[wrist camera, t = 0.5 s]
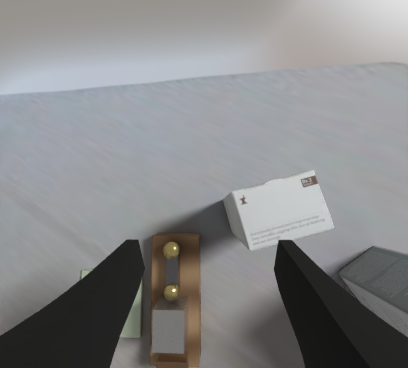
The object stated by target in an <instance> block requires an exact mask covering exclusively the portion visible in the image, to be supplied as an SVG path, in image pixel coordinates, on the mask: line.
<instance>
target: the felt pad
mask: <svg viewBox="0 0 408 368" xmlns="http://www.w3.org/2000/svg"><path fill="white" fill-rule="evenodd" d="M91 271H92V270H82V277H81V279H82V278H84V277H85V276H86V275H87V274H88V273H90V272H91ZM142 280H143V277H142ZM142 280H141V284H140V287H139V290H138V293H137V295H136V298H135V300H134V303H133V305H132V308H131V310H130V313H129V315H128V318H127V320H126V323H125V325H124V328H123V330H122V332H121V335H120V337H124V338H140V337H141V327H142Z"/></svg>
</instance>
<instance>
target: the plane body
mask: <svg viewBox="0 0 408 368" xmlns="http://www.w3.org/2000/svg"><path fill="white" fill-rule="evenodd" d="M172 241H173V242H176V243H180V290H179V293H178V295H177V296H188V299H189V333H188V337H187V342H186V347H185V351H184V354H179V353H153V352H152V320H153V308H154V307H155V305H156V303H157V302H158V300H159V298H160V297H161V295H164V290H165V289H166V257H165V255H164V253H163V248H164V246H165V245H166V244H167V243H168V242H172ZM200 355H201V297H200V233H157V234H155V235H153V236H152V288H151V348H150V365H156V368H188V367H199V364H200Z"/></svg>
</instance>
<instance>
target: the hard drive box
mask: <svg viewBox="0 0 408 368" xmlns="http://www.w3.org/2000/svg"><path fill="white" fill-rule="evenodd" d="M338 274H339V275H340V277H341V278H342V279H343V281H344V282H345V283H346V284H347V286H348V287H349V288H350V290H351V291H352V292H353V294H354V295H355V296H356V298H357V299H358V300H359V301H360V303H361V304H363V305H364V306H365V307H367V308H368V309H369V310H371V311H372V312H373V313H375V314H376V315H377V316H378V317H380V318H381V319H383V320H384V321H385V322H387V323H388V324H389V325H391V326H392V327H394V328H395V329H397V330H398V331H399V332H401V333H402V334H404V335H405V336H407V337H408V254H406V253H402V252H398V251H394V250H390V249H386V248H382V247H378V246H373V247H372V248H370V249H369V250H368V251H366V252H365V253H364V254H362V255H361V256H359V257H358V258H357V259H355V260H354V261H353V262H351V263H350V264H348V265H347V266H346V267H344V268H343V269H342V270H340V271H339V272H338Z"/></svg>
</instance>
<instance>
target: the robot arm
mask: <svg viewBox="0 0 408 368" xmlns="http://www.w3.org/2000/svg"><path fill="white" fill-rule="evenodd" d="M144 269H145V267H144V263H143V259H142V254H141V250H140V245H139V241H138V240H126V241H125V242H124V243H122V244H121V245H120V246H119V247H118V248H117V249H116V250H115V251H114V252H112V253H111V254H110V255H109V256H108V257H107V258H106V259H105V260H103V261H102V262H101V263H100V264H99V265H98V266H97V267H95V268H94V269H93V270H92V271H91V272H90V273H88V274H87V275H86V276H85V277H84V278H82V279H81V280H80V281H79V282H77V283H76V284H75V285H74V286H72V287H71V288H70V289H69V290H67V291H66V292H65V293H63V294H62V295H61V296H59V297H58V298H57V299H55V300H54V301H53V302H51V303H50V304H48V305H47V306H46V307H44V308H43V309H41V310H40V311H38V312H37V313H35V314H34V315H32V316H31V317H29V318H28V319H26V320H25V321H23V322H21V323H20V324H18V325H17V326H15V327H14V328H12V329H11V330H9V331H8V332H6V333H4V334H3V335H1V336H0V368H110V365H111V361H112V358H113V355H114V352H115V349H116V346H117V343H118V340H119V338H120V335H121V332H122V330H123V328H124V325H125V323H126V320H127V318H128V315H129V313H130V310H131V308H132V305H133V303H134V300H135V298H136V295H137V293H138V290H139V287H140V284H141V280H142V277H143V273H144ZM274 272H275V276H276V280H277V284H278V288H279V291H280V294H281V297H282V300H283V303H284V305H285V308H286V311H287V313H288V316H289V319H290V322H291V324H292V327H293V330H294V332H295V335H296V338H297V340H298V343H299V346H300V349H301V352H302V356H303V359H304V363H305V366H306V368H408V337H407V336H405V335H404V334H402V333H401V332H399V331H398V330H397V329H395V328H394V327H392V326H391V325H389V324H388V323H387V322H385V321H384V320H383V319H381V318H380V317H378V316H377V315H376V314H375V313H373V312H372V311H371V310H369V309H368V308H367V307H365V306H364V305H363V304H361V303H360V302H359V301H358V300H356V299H355V298H354V297H353V296H351V295H350V294H349V293H348V292H347V291H345V290H344V289H343V288H342V287H341V286H340V285H338V284H337V283H336V282H335V281H334V280H333V279H332V278H330V277H329V276H328V275H327V274H326V273H325V272H324V271H323V270H322V269H321V268H320V267H318V266H317V265H316V264H315V263H314V262H313V261H312V260H311V259H310V258H309V257H308V256H307V255H306V254H305V253H304V252H303V251H302V250H301V249H300V248H299V247H298V246H297V245H296V244H295V243H294V242H293V241H292V240H278V247H277V253H276V260H275V266H274Z"/></svg>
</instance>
